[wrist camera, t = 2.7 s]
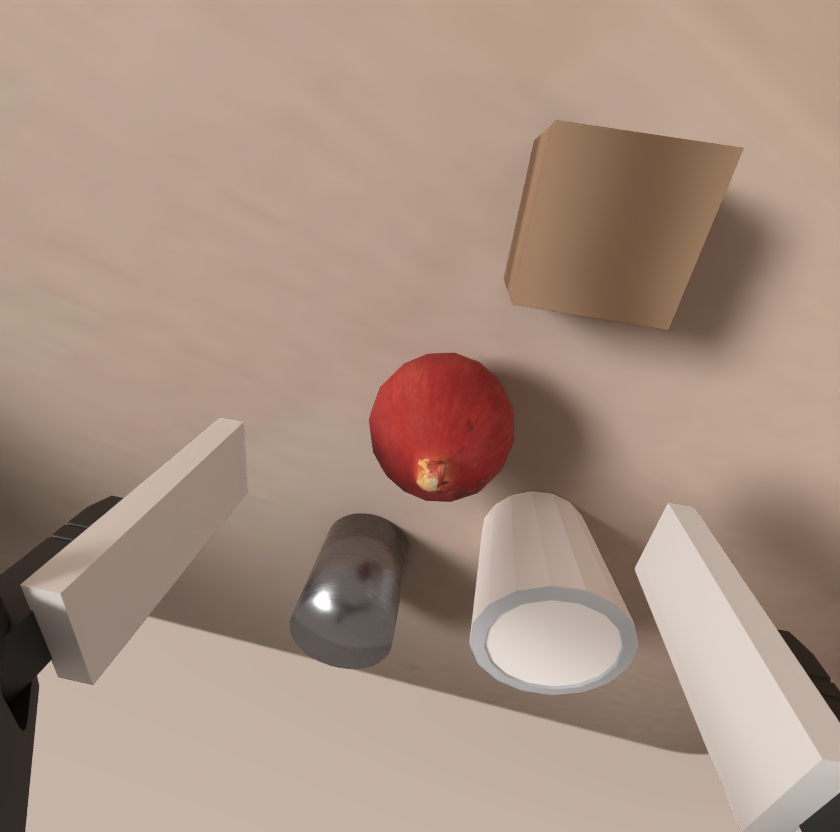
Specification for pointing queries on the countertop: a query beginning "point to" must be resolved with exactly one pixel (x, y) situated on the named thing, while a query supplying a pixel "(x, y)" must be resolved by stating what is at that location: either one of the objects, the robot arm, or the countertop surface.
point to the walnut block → (614, 222)
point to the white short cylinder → (547, 600)
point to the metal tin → (353, 593)
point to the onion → (442, 427)
